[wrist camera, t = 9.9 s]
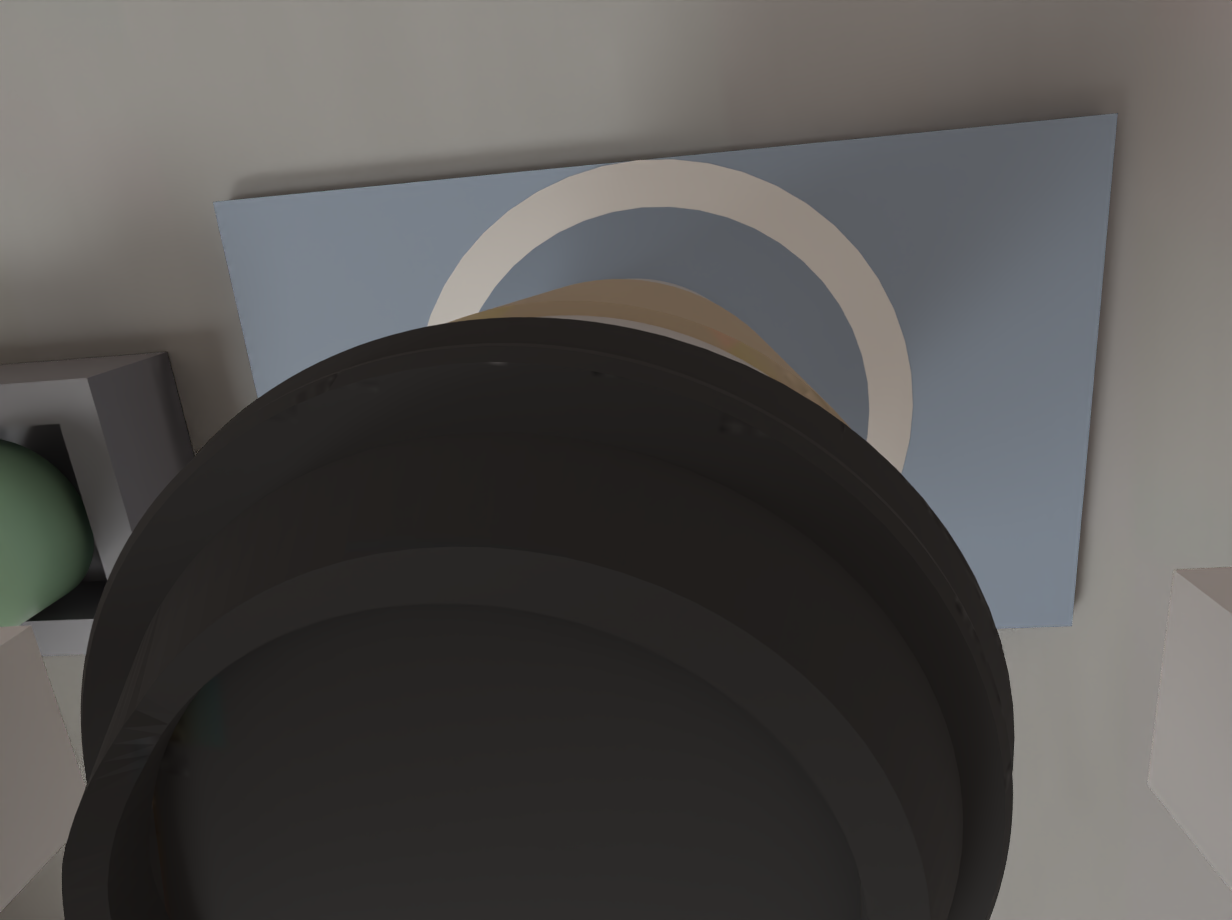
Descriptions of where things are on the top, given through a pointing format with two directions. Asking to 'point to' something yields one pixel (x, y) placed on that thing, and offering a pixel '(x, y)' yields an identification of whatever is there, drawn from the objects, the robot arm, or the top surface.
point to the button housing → (97, 459)
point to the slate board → (775, 296)
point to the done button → (38, 534)
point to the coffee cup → (543, 646)
